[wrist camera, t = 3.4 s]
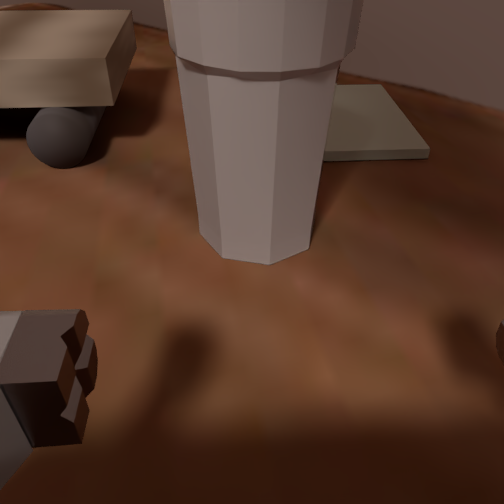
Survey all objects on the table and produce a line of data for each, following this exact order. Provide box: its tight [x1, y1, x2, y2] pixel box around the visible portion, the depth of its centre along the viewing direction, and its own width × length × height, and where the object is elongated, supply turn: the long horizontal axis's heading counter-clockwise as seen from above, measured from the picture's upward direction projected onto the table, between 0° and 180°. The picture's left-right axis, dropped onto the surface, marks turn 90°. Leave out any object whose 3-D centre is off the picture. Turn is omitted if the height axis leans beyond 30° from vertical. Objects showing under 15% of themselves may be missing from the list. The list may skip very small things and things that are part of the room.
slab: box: [0, 10, 137, 168], centre depth 29 cm, size 14×12×5 cm
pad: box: [324, 84, 430, 161], centre depth 31 cm, size 10×10×1 cm
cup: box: [164, 0, 363, 265], centre depth 18 cm, size 7×7×11 cm
